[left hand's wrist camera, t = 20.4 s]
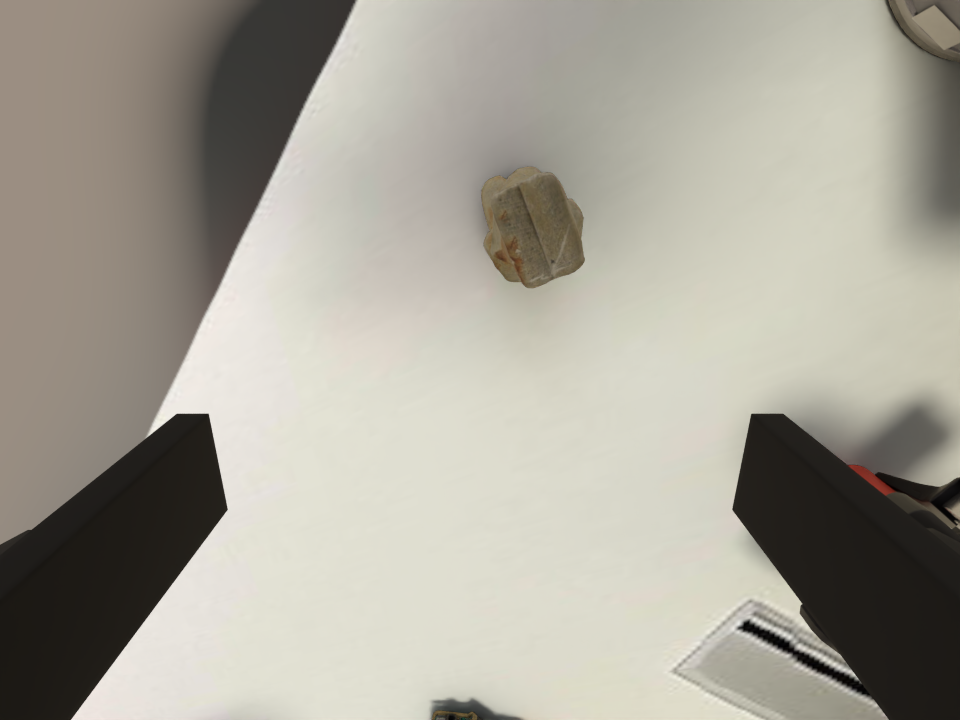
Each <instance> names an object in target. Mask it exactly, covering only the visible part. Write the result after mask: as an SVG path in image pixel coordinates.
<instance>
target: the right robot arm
mask: <svg viewBox="0 0 960 720" xmlns="http://www.w3.org/2000/svg"><path fill="white" fill-rule="evenodd" d="M875 476H876V477H878V478H879V479H880V480H881V481H883V482H884V483H885V484H887V485H888V486H890V487H891V488H892V489H894V490H895V491H896V492H894V493H890V494H888V495H886V496H887V497H888V498H889V499H890V500H892V501H893V502H894V503H895V504H897V505H898V506H899V507H900V508H902V509H903V510H904V511H905V512H907V513H908V514H909V515H910V516H912V517H913V518H914V519H915V520H917V521H918V522H919V523H920V524H922V525H923V526H924V527H925V528H933V529H935V530H937V531H939V532H941V533H943V534H945V535H947V536H948V537H950V538H952V539H954V540H956V541H958V542H960V477H959V478H956V479H954V480H953V481H951V482H950V483H948V484H946V485H944V486H941V487H935V486H929V485H923V484H919V483H915V482H911V481H908V480H904V479H901V478H898V477H894V476H891V475H887V474H884V473H880V472H877V473H876V474H875ZM951 528H952V529H951ZM800 614H801V616H802V617H803V619H804V620H805V621H806V623H807V624H808V626H809V627H810V628H811V630H812V631H813V632H814V633H815V634H816V635H817V636H818V637H819V638H820V639H821V640H822V641H823V642H824V643H826V644H827V645H828V646H830V647H831V648H832V649H834V650H835V651H836V652H838V651H837V649H836V648H835V647H834V645H833V644H832V642H831V641H830V640H829V638H828V637H827V636H826V634H825V633H824V632H823V630H822V629H821V628H820V626H819V625H818V624H817V622H816V621H815V620H814V618H813V617H812V616H811V614H810V613H809V612H808V610H807V609H806V608H805V606H804V605H803V604H802V605H801V607H800ZM838 653H839V652H838ZM839 654H840V653H839Z"/></svg>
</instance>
